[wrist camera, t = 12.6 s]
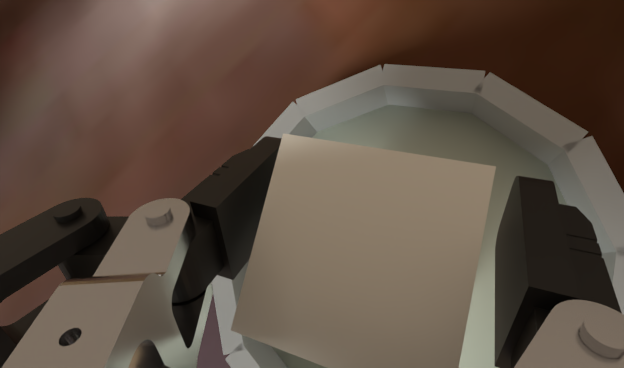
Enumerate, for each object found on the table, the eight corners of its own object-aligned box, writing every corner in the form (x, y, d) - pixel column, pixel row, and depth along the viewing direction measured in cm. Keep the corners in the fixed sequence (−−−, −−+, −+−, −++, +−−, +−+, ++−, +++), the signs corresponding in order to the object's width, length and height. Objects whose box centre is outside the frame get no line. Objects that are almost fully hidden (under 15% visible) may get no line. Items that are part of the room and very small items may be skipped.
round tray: (208, 372, 18) (168, 391, 16) (287, 84, 21) (265, 55, 18) (576, 535, 13) (616, 608, 10) (628, 117, 15) (673, 83, 12)
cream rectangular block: (333, 294, 16) (230, 330, 8) (356, 196, 17) (283, 133, 9) (439, 327, 15) (449, 414, 6) (460, 218, 15) (496, 166, 7)
